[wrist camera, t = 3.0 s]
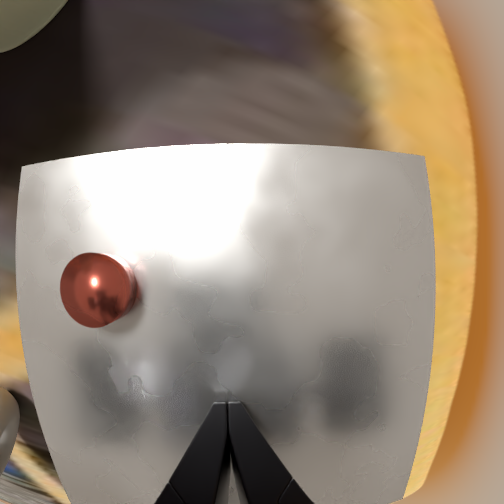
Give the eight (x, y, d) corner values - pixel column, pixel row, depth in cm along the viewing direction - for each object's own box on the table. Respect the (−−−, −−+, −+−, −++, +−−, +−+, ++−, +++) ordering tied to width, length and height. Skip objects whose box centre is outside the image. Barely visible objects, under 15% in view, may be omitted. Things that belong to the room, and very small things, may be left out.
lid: (382, 523, 10) (398, 548, 8) (100, 536, 9) (89, 562, 6) (410, 163, 11) (443, 145, 8) (35, 173, 9) (3, 156, 7)
